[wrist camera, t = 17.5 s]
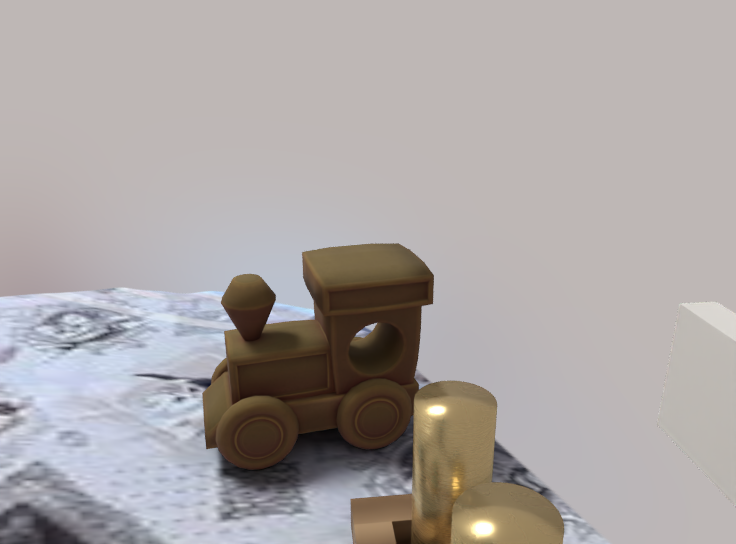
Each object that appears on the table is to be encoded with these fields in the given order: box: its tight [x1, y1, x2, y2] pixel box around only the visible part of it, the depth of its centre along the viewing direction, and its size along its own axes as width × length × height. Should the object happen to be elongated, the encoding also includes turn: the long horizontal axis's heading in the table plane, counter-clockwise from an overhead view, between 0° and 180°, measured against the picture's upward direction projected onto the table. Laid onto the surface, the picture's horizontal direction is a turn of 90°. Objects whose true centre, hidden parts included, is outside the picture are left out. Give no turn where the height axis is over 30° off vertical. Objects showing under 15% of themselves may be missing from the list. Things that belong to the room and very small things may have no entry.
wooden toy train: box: [202, 244, 434, 470], centre depth 57 cm, size 20×11×17 cm, turn 106°
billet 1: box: [411, 381, 497, 544], centre depth 40 cm, size 5×5×14 cm
